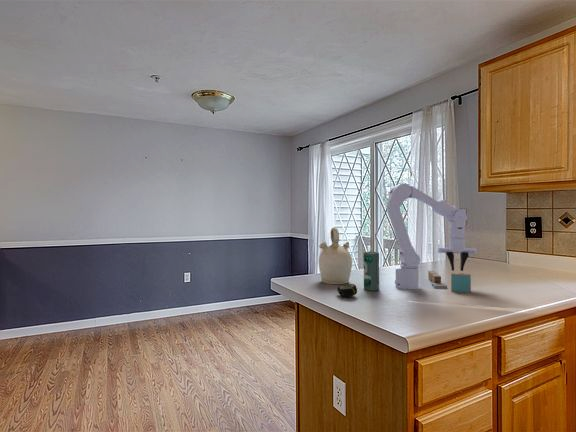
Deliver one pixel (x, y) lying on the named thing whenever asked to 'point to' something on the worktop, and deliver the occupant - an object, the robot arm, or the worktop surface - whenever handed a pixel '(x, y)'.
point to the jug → (335, 261)
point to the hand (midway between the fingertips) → (457, 270)
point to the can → (371, 270)
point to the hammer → (436, 280)
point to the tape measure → (347, 290)
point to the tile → (460, 282)
